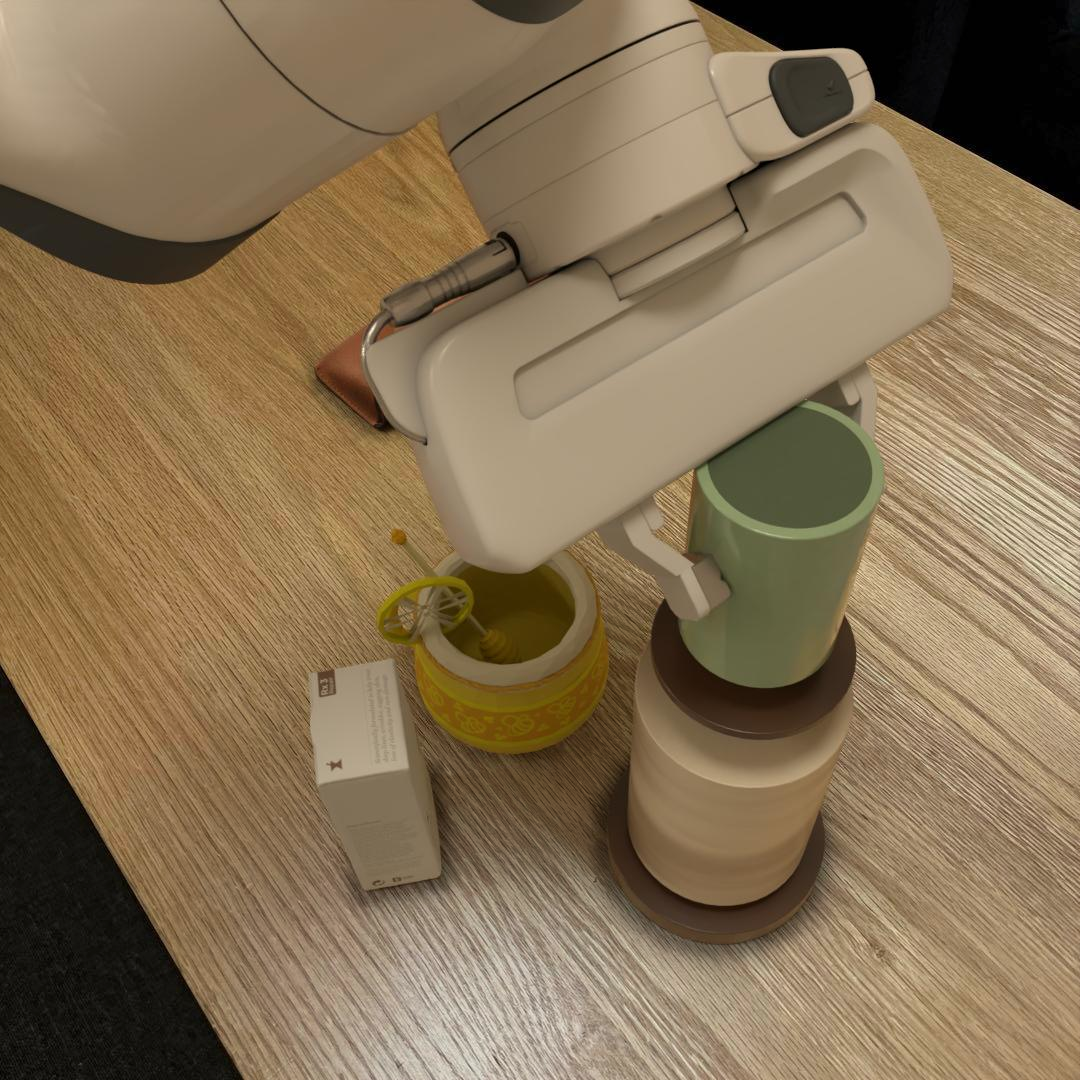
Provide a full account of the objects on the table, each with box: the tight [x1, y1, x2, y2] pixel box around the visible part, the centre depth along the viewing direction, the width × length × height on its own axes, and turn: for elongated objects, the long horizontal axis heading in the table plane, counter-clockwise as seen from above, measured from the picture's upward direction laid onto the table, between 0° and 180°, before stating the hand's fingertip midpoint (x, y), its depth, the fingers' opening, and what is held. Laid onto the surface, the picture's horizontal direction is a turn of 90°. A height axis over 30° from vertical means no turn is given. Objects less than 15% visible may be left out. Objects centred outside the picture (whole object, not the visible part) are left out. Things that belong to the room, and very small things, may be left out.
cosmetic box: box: [308, 657, 442, 891], centre depth 58 cm, size 6×4×12 cm
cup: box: [678, 399, 886, 688], centre depth 42 cm, size 6×6×9 cm
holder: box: [606, 597, 858, 945], centre depth 54 cm, size 11×11×19 cm
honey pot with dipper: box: [375, 528, 610, 755], centre depth 63 cm, size 13×11×12 cm
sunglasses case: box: [313, 275, 549, 428], centre depth 84 cm, size 18×7×7 cm
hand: (786, 554), depth 41 cm, fingers closed on cup, 6 cm apart
